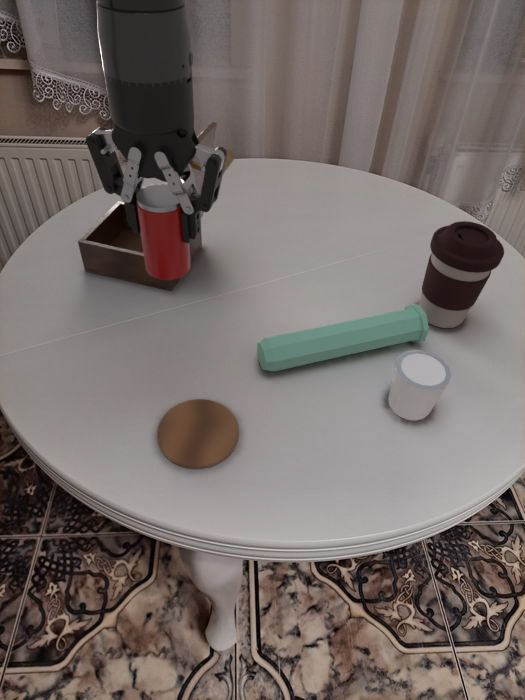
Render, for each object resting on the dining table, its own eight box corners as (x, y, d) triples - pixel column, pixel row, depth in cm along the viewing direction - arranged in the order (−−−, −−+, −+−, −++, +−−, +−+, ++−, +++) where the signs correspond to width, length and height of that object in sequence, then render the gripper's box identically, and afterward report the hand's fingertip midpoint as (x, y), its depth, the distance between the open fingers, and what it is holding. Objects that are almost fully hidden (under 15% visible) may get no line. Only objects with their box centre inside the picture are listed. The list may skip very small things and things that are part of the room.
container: (262, 345, 66) (430, 310, 72) (249, 330, 71) (407, 298, 77) (266, 385, 68) (428, 348, 74) (253, 367, 74) (406, 334, 79)
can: (143, 280, 57) (132, 208, 50) (147, 253, 61) (137, 183, 54) (190, 280, 57) (185, 208, 51) (191, 253, 61) (186, 183, 55)
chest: (84, 271, 85) (77, 241, 81) (123, 229, 94) (118, 200, 90) (171, 291, 82) (168, 261, 78) (202, 246, 92) (200, 217, 87)
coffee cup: (480, 310, 83) (517, 230, 72) (459, 344, 77) (497, 263, 66) (422, 286, 86) (450, 207, 76) (399, 318, 80) (425, 236, 70)
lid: (175, 159, 66) (213, 173, 66) (212, 121, 75) (245, 133, 75) (166, 258, 78) (198, 270, 78) (198, 214, 87) (227, 225, 87)
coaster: (154, 470, 59) (153, 467, 59) (160, 402, 66) (160, 399, 66) (240, 467, 60) (240, 464, 60) (237, 401, 67) (237, 398, 67)
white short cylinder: (445, 412, 68) (463, 377, 63) (406, 432, 65) (421, 397, 60) (411, 377, 72) (424, 342, 67) (373, 395, 69) (384, 360, 64)
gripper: (48, 66, 42) (88, 240, 54) (212, 90, 40) (216, 266, 52) (92, 42, 47) (120, 206, 59) (240, 63, 45) (237, 228, 57)
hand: (165, 233), depth 56 cm, fingers closed on can, 5 cm apart
